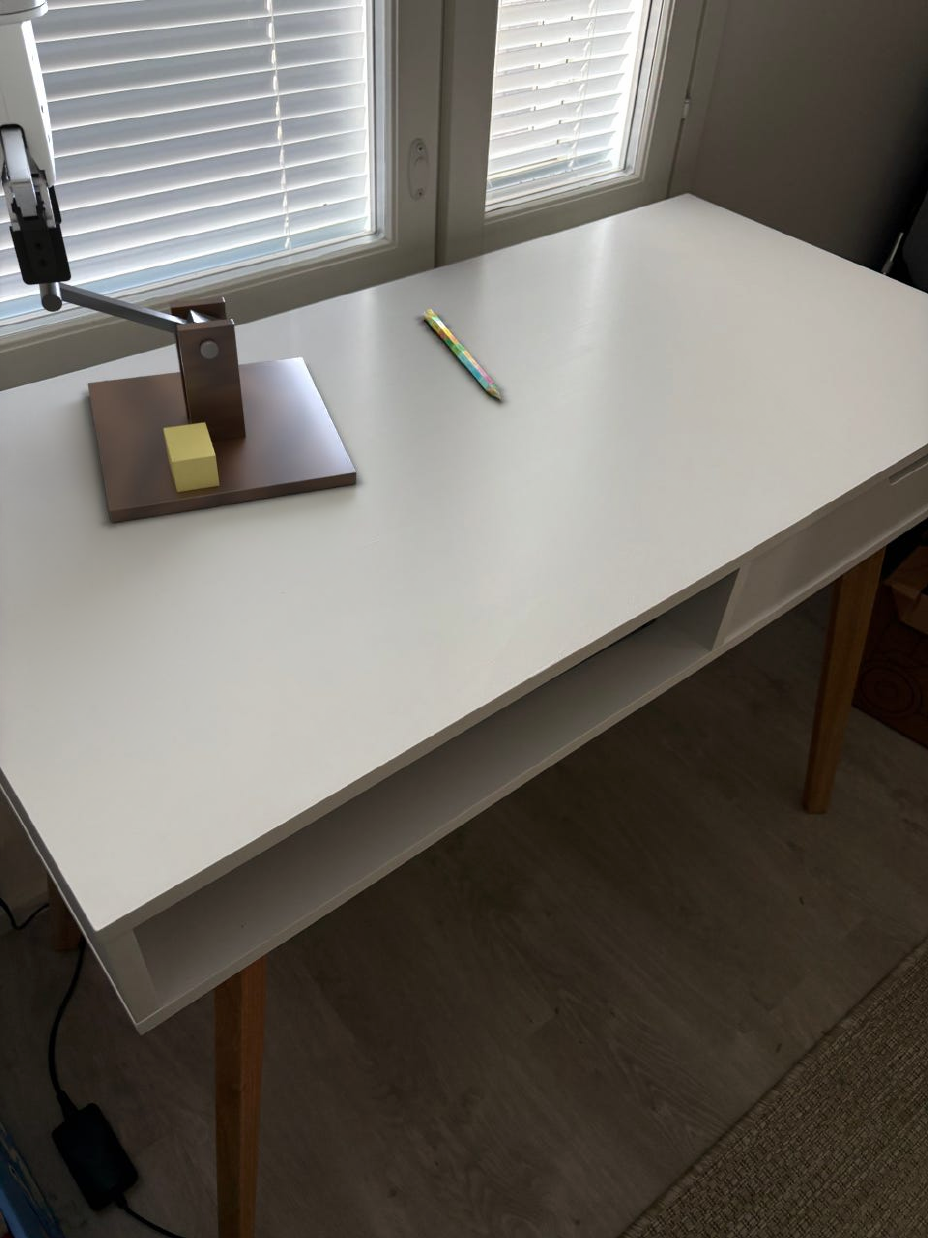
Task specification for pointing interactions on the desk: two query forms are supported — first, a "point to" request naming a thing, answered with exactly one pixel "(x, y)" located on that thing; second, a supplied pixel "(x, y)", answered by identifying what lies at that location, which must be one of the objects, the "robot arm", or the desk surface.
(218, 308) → the slicer
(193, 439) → the butter
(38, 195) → the robot arm
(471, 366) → the pencil
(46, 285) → the lever
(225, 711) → the desk surface
